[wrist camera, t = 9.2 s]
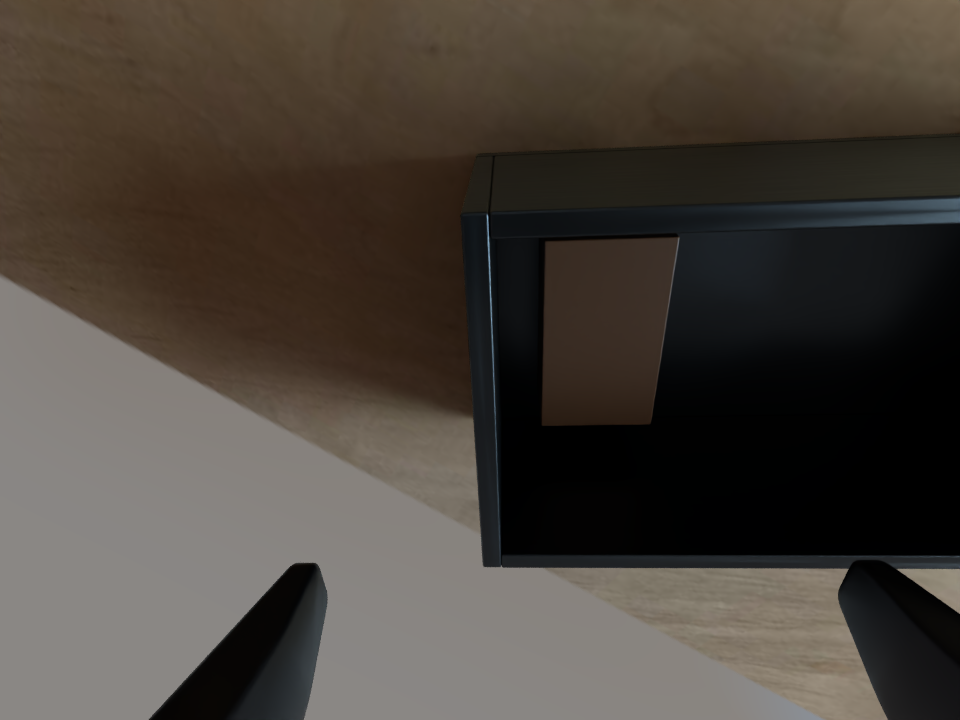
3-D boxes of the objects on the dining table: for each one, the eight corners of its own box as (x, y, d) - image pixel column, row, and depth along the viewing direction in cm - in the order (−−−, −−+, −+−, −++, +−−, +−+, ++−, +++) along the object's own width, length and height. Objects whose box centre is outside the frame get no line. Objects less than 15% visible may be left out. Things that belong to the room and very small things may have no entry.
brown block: (635, 387, 21) (651, 424, 19) (537, 388, 21) (541, 426, 19) (658, 214, 17) (680, 236, 15) (539, 218, 18) (544, 241, 15)
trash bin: (488, 421, 23) (482, 567, 16) (476, 153, 17) (460, 212, 11) (990, 415, 22) (1202, 570, 15) (1156, 124, 16) (1610, 172, 9)
